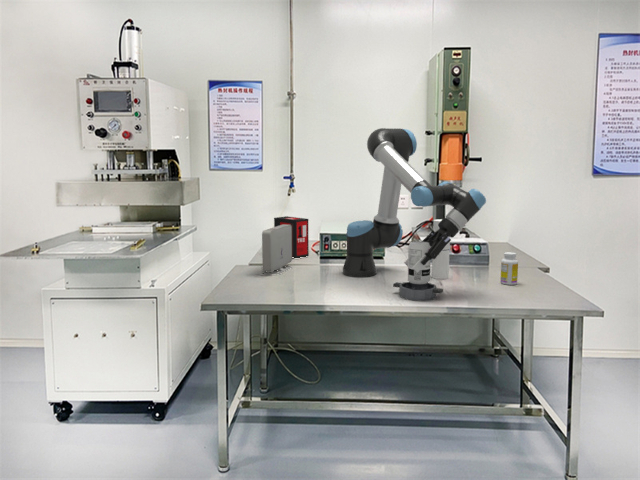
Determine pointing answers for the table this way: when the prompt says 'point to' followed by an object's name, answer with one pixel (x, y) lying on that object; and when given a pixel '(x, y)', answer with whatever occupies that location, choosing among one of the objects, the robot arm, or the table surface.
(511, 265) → the supplement bottle
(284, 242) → the network device
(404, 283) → the cooker pot
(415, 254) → the supplement can
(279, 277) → the table surface
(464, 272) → the table surface
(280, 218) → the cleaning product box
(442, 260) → the cylindrical container
